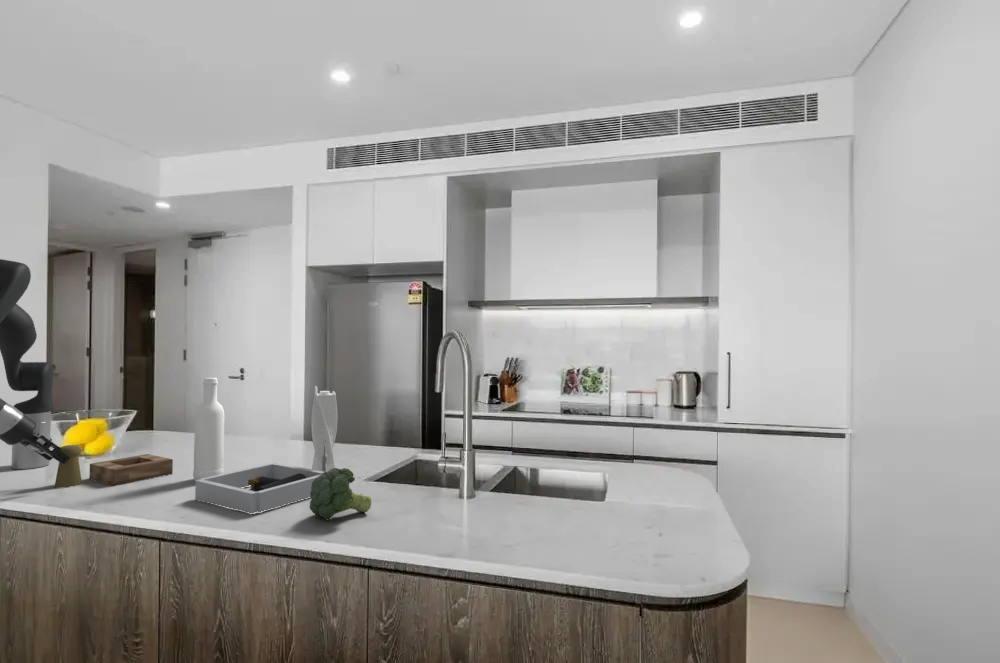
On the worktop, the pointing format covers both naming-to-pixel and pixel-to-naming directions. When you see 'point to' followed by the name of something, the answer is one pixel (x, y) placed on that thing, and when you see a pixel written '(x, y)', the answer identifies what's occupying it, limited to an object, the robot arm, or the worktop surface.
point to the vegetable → (336, 494)
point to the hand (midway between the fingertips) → (59, 459)
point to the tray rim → (231, 494)
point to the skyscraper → (324, 429)
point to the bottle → (209, 434)
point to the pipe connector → (271, 482)
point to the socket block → (130, 469)
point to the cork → (69, 468)
